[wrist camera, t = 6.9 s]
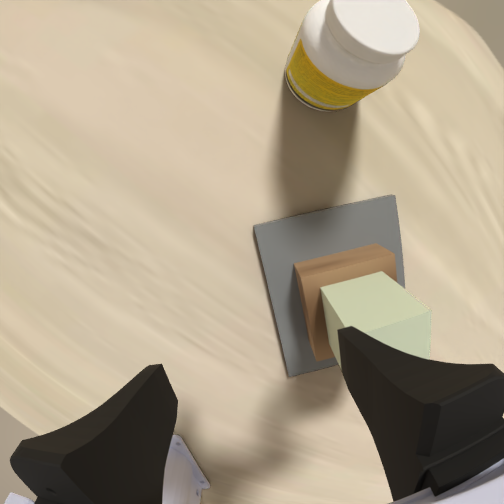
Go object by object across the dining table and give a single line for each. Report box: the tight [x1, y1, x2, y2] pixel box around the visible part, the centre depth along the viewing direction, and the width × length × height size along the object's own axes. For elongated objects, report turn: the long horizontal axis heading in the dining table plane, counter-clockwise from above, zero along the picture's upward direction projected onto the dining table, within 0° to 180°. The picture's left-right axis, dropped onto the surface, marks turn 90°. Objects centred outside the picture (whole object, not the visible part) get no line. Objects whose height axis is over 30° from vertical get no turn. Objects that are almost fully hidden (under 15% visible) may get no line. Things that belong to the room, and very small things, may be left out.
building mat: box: [254, 195, 405, 377], centre depth 22 cm, size 12×10×1 cm
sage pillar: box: [320, 271, 432, 368], centre depth 16 cm, size 4×4×6 cm
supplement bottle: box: [285, 0, 420, 112], centre depth 14 cm, size 5×5×10 cm
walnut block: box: [294, 243, 397, 361], centre depth 20 cm, size 6×6×3 cm
